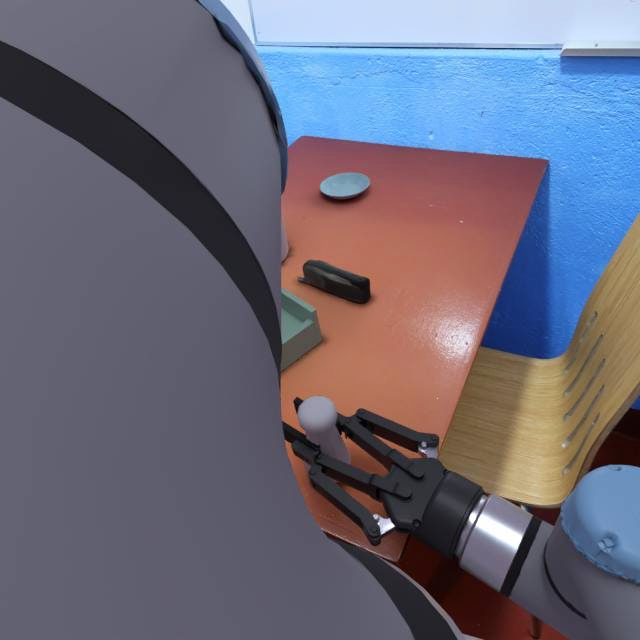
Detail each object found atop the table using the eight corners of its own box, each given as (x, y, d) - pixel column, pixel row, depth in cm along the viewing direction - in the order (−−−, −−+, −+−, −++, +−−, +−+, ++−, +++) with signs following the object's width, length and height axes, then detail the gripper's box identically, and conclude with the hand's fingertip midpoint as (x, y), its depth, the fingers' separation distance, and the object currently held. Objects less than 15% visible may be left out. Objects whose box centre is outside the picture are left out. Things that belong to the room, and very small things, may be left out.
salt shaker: (358, 483, 57) (349, 421, 48) (313, 498, 57) (296, 438, 48) (344, 444, 61) (333, 380, 53) (302, 457, 61) (284, 395, 52)
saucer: (313, 190, 114) (311, 181, 113) (355, 175, 117) (355, 167, 116) (334, 210, 106) (333, 201, 105) (379, 194, 109) (379, 185, 107)
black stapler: (372, 275, 80) (301, 252, 87) (363, 285, 78) (291, 261, 85) (373, 297, 83) (304, 273, 90) (364, 307, 82) (295, 282, 88)
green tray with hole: (264, 383, 72) (254, 352, 67) (203, 330, 82) (190, 300, 78) (322, 340, 77) (316, 309, 72) (257, 295, 87) (248, 265, 83)
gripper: (429, 615, 43) (249, 482, 55) (499, 480, 52) (329, 390, 64) (432, 587, 38) (233, 447, 50) (510, 443, 47) (323, 353, 59)
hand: (287, 416), depth 57 cm, fingers closed on salt shaker, 3 cm apart
